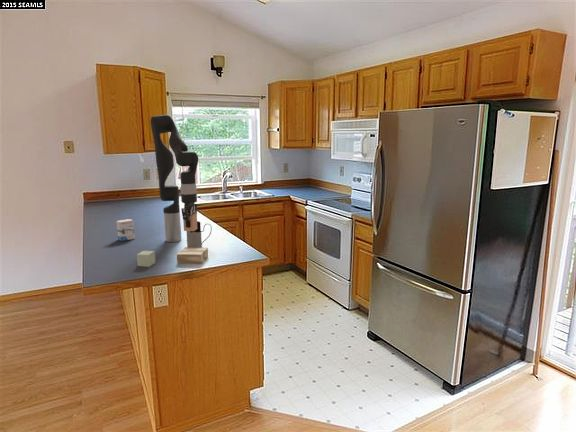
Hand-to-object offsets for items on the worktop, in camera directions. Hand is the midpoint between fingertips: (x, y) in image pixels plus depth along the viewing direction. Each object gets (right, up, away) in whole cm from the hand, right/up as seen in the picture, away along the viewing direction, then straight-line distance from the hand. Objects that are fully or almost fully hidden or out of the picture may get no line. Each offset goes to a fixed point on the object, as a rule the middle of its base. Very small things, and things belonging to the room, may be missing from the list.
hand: (190, 226), depth 190 cm
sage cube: (-20, -19, -4) cm, 28 cm away
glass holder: (-1, -13, +23) cm, 26 cm away
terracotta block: (0, -2, 0) cm, 2 cm away
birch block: (+1, -18, +3) cm, 18 cm away
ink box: (-49, -9, +41) cm, 65 cm away
